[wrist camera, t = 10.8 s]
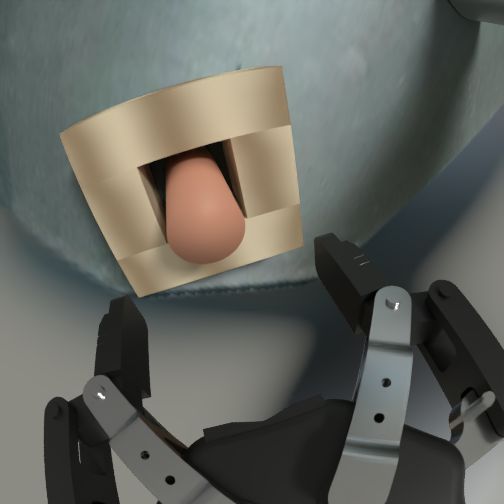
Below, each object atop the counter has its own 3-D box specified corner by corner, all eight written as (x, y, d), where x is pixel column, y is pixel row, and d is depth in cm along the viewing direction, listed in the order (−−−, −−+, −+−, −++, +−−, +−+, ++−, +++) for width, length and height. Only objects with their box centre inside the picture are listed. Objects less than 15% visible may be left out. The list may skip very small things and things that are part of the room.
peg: (209, 138, 21) (236, 185, 13) (220, 182, 23) (251, 251, 16) (159, 153, 21) (155, 210, 13) (174, 196, 23) (181, 272, 15)
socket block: (258, 66, 18) (281, 66, 15) (282, 216, 27) (303, 246, 23) (81, 120, 17) (59, 134, 13) (140, 260, 26) (138, 297, 22)
